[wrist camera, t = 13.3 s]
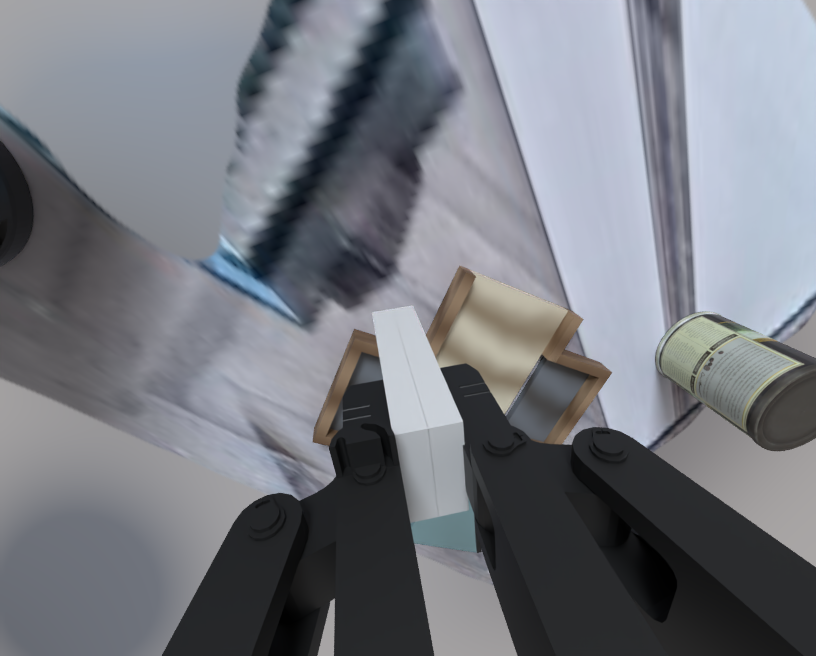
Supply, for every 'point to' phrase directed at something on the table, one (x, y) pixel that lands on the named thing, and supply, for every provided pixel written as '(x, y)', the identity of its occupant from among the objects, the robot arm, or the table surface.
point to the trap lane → (492, 357)
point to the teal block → (447, 531)
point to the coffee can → (743, 378)
